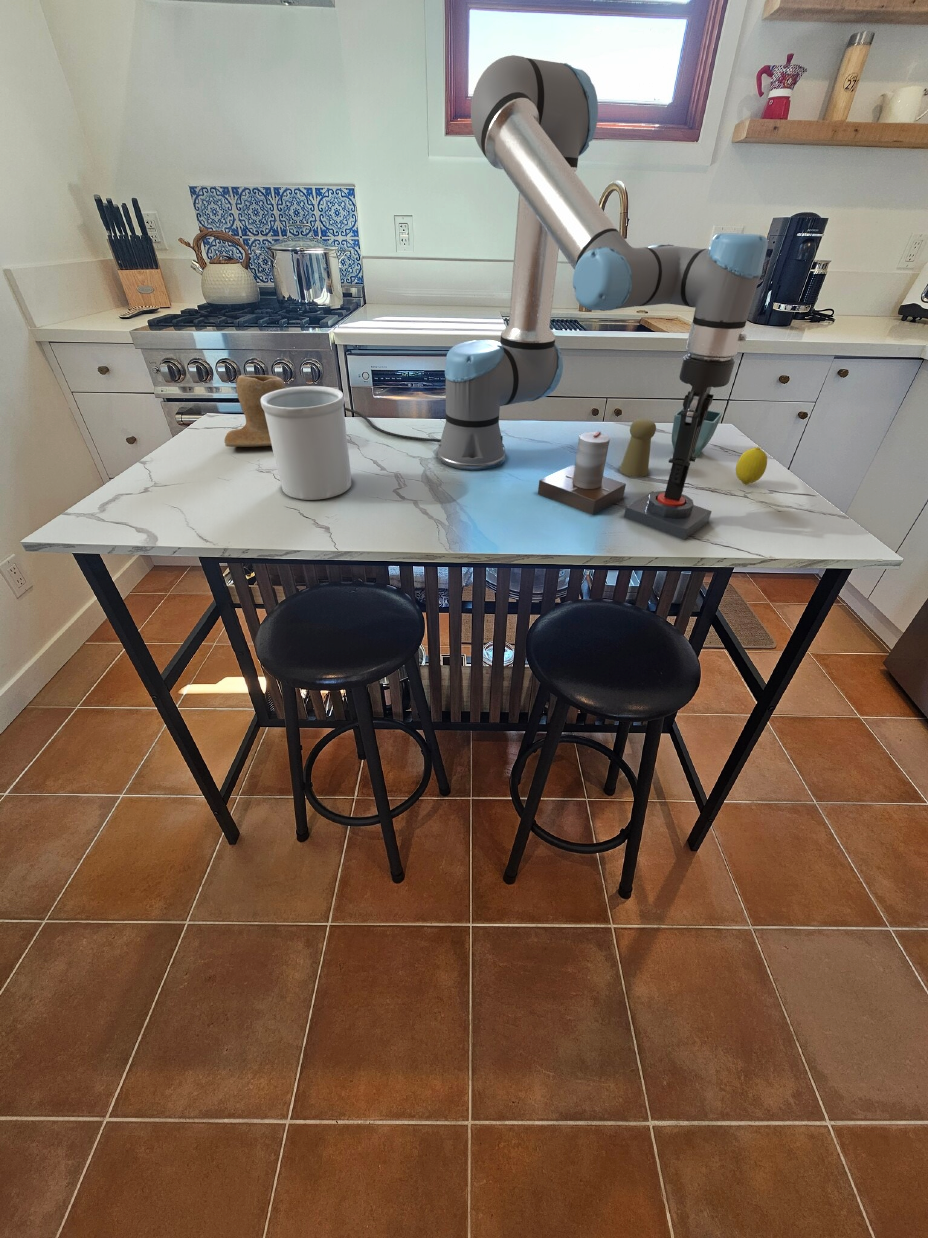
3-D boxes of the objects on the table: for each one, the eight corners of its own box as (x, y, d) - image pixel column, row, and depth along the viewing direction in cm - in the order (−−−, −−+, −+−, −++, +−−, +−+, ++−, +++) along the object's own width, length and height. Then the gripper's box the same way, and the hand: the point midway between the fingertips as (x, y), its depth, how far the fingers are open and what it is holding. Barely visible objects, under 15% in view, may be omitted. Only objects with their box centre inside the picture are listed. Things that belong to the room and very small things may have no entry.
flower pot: (711, 450, 131) (723, 412, 125) (702, 461, 125) (714, 422, 119) (674, 442, 134) (684, 405, 129) (664, 453, 128) (674, 414, 123)
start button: (650, 506, 100) (653, 498, 99) (663, 499, 103) (665, 490, 102) (675, 515, 98) (677, 506, 96) (687, 507, 100) (690, 498, 99)
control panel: (537, 494, 110) (539, 479, 108) (569, 478, 116) (571, 464, 114) (592, 515, 103) (595, 499, 101) (623, 497, 109) (626, 482, 107)
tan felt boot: (298, 433, 135) (287, 367, 126) (295, 450, 126) (283, 381, 117) (234, 435, 133) (218, 369, 124) (226, 453, 123) (208, 383, 114)
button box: (623, 517, 102) (627, 497, 100) (650, 501, 108) (654, 482, 105) (683, 540, 96) (689, 519, 93) (708, 521, 101) (714, 501, 99)
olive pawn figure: (648, 478, 117) (661, 426, 110) (619, 475, 118) (630, 423, 111) (646, 467, 122) (658, 417, 115) (619, 464, 122) (629, 414, 116)
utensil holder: (263, 485, 110) (244, 395, 100) (325, 465, 119) (313, 380, 108) (306, 509, 102) (289, 413, 92) (368, 485, 111) (360, 396, 100)
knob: (595, 491, 104) (604, 442, 98) (568, 484, 106) (575, 437, 100) (605, 481, 108) (614, 434, 102) (578, 475, 110) (585, 428, 104)
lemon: (759, 482, 116) (772, 445, 111) (758, 492, 112) (772, 454, 107) (731, 477, 118) (743, 440, 113) (729, 486, 114) (742, 449, 109)
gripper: (729, 367, 79) (686, 516, 93) (741, 350, 88) (700, 488, 102) (676, 360, 81) (642, 506, 96) (693, 345, 91) (659, 480, 105)
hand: (672, 497), depth 99 cm, fingers closed
